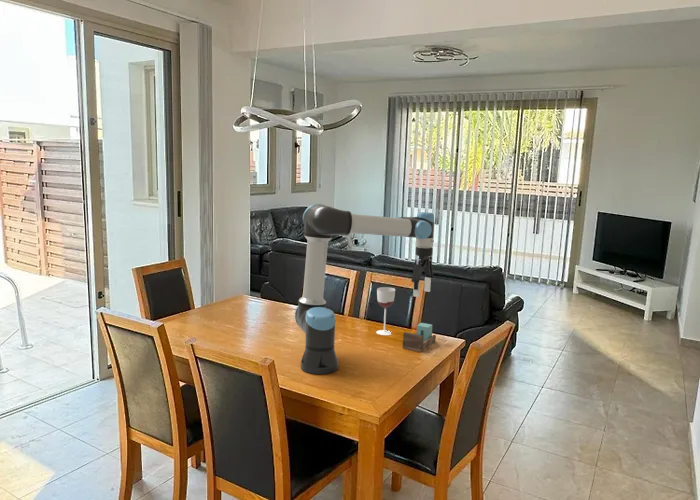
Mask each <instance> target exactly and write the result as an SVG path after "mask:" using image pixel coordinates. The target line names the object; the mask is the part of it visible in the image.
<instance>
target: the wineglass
mask: <svg viewBox="0 0 700 500" xmlns="http://www.w3.org/2000/svg"><path fill="white" fill-rule="evenodd" d="M395 295H396V288H394V287H388V286H383V287H378V288H376V297H377V298H376V299H377V303H378V305H379V306H380V307H382V308H383V309H384V314H383V329H379V330H377V331H376V332H375V333H376V334H377V335H381V336H391V335H392V334H391V332H392V331H391V330H388V331H387V329H386V325H387V324H386V323H387V322H386V321H387V319H386V318H387V309H388V308H389V307H392V305H393V304H394V302H395ZM390 331H391V332H390Z"/></svg>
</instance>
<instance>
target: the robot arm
mask: <svg viewBox="0 0 700 500" xmlns="http://www.w3.org/2000/svg"><path fill="white" fill-rule="evenodd" d="M302 222H303V223H302V224H303V225H304V233H303V236H304V237H305V239H306V241H307V242H306V251H305V252H306V255H305V264H304V265H305V267H304V277H303V288H302V289H303V290H302V296H301V297H300V298H299V299H298V303H297V304H298V306H297V307H296V309H295V312H294V319H295V323H296V324H297V326H298V327H299V328H300V329H301V330H302V332H304V334H305V347H304V351H303V355H302V357H301V361H300V369H301V370H302V371H303V372H305V373H308V374H314V375H328V374H331V373H333V372H336V371H337V370H338V369H339V360H338V357H337V354H336V350H335V338H336V314H335V312H334V311H333V310H332V309H330V308H327V301H326V300H325V298H324V291H325V281H326V279H325V278H326V268H327V256H328V245H329V242H330V241H331V240H332V239H333V236H349V235H351V234H360V235H373V236H374V235H375V236H389V237H404V238H413V239H414V238H416V239H415V255H416V256H417V257H418V259H414V267H413V272H412V276H411V283H413V289H412V290H413V291H412V297H416V298H420V294H421V292H420V290H421V289H420V288H421V282H420V280H421V279H422V278H421V277H422V273H423V271H424V275H425V277H424V288H423V291H424V292H428V293H430V292H431V285H432V281H431V280H432V278H434V270H433V251H434V250H433V246H434V242H435V241H434V232H435V231H434V230H435V214H434V213H433V212H429V211H427V212H426V211H425V212H424V211H421V212H419V211H418V212H417V215H416V216H395V217H392V216H391V217H390V216H389V217H388V216H377V215H367V214H355V213H352V211H350V210H343V209H342V210H341V209H338V208H335V207H333V206H329V205H325V204H322V203H321V204H320V203H318V204H317V203H316V204H315V203H314V204H312V205H310V206H308V207H307V208H306V209H305V211H304V212H303V214H302Z"/></svg>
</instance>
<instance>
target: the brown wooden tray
mask: <svg viewBox="0 0 700 500" xmlns="http://www.w3.org/2000/svg"><path fill="white" fill-rule="evenodd" d="M436 335H437V334H436ZM436 335H435V334H432V337H430V338H428V339H427V340H425V341H423V339H424V336H422V335H417V332H416V333H412V332H407V331H404V332H403V335H402V349H404V350H407V349H408V351H413V352H416V351H417V352H418V353H423V352H424V351H425V350H427V349H428V348H429V346H430V347H431V346H433V345H434V344H436V341H437V340H436V339H437V338H436V337H437V336H436ZM432 344H433V345H432ZM426 348H427V349H426ZM417 352H416V353H417Z"/></svg>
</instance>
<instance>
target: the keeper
mask: <svg viewBox="0 0 700 500" xmlns="http://www.w3.org/2000/svg"><path fill="white" fill-rule="evenodd" d="M416 333H417V335H422V336H424V339H423V341H425V340H427V339H428V338H430V337H432V336H433V324H431V323H425V322H420V323H418V324H417V325H416Z"/></svg>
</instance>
